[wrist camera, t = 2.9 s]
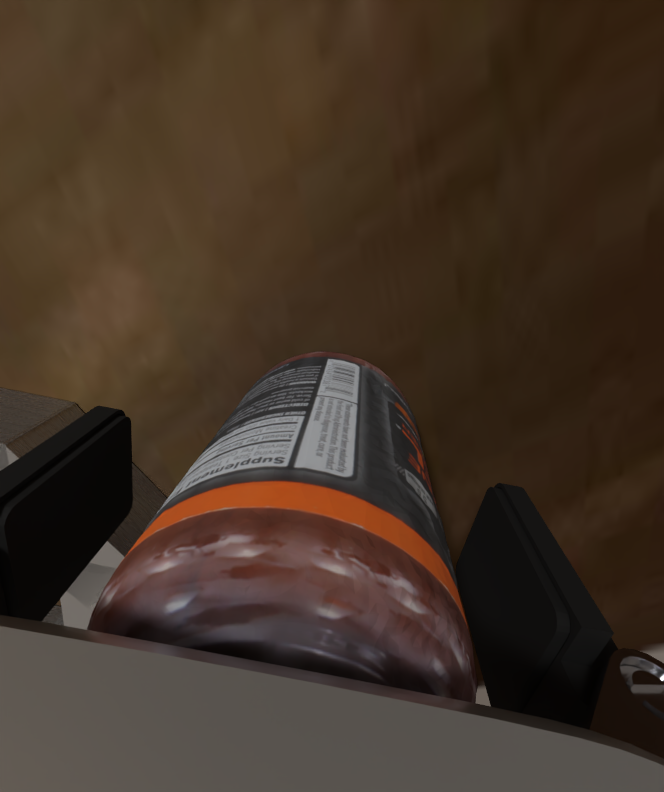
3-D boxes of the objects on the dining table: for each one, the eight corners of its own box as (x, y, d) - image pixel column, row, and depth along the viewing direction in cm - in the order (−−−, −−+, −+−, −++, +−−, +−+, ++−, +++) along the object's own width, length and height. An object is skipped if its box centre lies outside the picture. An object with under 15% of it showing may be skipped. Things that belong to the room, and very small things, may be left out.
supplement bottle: (428, 483, 14) (591, 1152, 4) (274, 509, 15) (82, 1095, 5) (395, 324, 12) (557, 870, 2) (218, 367, 13) (-319, 871, 3)
